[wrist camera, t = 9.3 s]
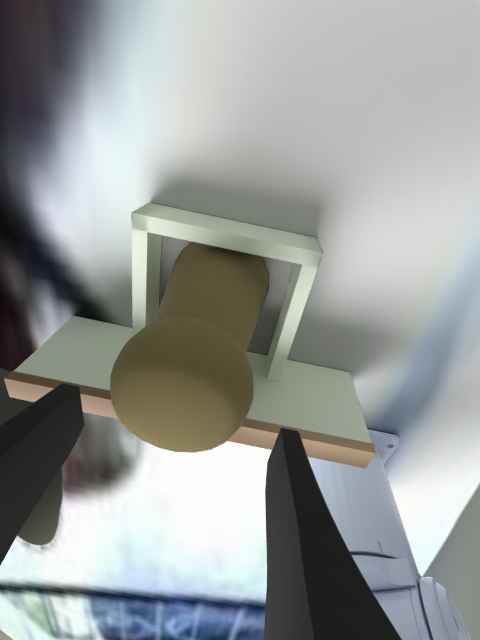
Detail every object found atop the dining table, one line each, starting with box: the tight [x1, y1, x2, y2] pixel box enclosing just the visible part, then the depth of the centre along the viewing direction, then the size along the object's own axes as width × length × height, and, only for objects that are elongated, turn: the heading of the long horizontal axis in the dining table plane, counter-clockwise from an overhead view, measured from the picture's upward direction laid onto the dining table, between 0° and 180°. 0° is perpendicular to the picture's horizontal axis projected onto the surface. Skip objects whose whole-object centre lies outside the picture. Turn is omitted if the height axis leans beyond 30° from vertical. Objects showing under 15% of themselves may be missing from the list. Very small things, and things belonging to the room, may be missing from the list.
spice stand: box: [4, 203, 376, 468], centre depth 17 cm, size 10×20×7 cm, turn 80°
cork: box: [110, 242, 269, 452], centre depth 15 cm, size 6×6×11 cm
